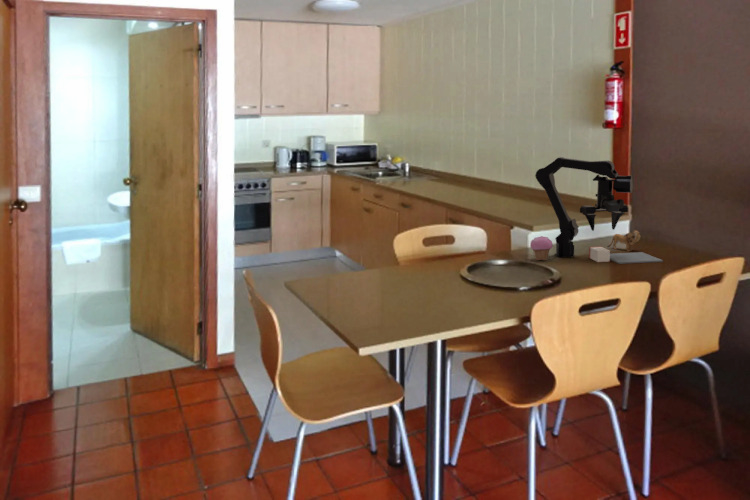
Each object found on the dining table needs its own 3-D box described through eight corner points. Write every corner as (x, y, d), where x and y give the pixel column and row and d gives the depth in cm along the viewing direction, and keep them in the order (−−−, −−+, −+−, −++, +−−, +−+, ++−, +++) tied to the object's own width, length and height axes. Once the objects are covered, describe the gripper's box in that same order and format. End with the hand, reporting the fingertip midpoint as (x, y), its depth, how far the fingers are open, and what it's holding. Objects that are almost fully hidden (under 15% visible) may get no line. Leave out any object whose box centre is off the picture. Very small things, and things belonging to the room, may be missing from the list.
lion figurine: (641, 250, 291) (642, 230, 289) (636, 252, 287) (637, 231, 285) (609, 247, 301) (610, 227, 299) (604, 248, 297) (604, 228, 296)
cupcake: (552, 258, 280) (552, 234, 278) (552, 262, 272) (552, 238, 270) (530, 257, 282) (530, 234, 281) (529, 262, 274) (529, 238, 272)
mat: (618, 263, 265) (619, 262, 265) (600, 255, 283) (600, 254, 283) (662, 261, 266) (663, 260, 266) (642, 253, 284) (642, 252, 284)
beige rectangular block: (597, 262, 270) (597, 251, 269) (588, 257, 279) (589, 247, 278) (609, 261, 270) (610, 250, 270) (600, 257, 279) (601, 246, 278)
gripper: (594, 194, 261) (592, 234, 264) (637, 192, 265) (635, 231, 268) (579, 192, 272) (578, 229, 275) (621, 190, 276) (619, 227, 279)
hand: (603, 229), depth 274 cm, fingers open, 9 cm apart
